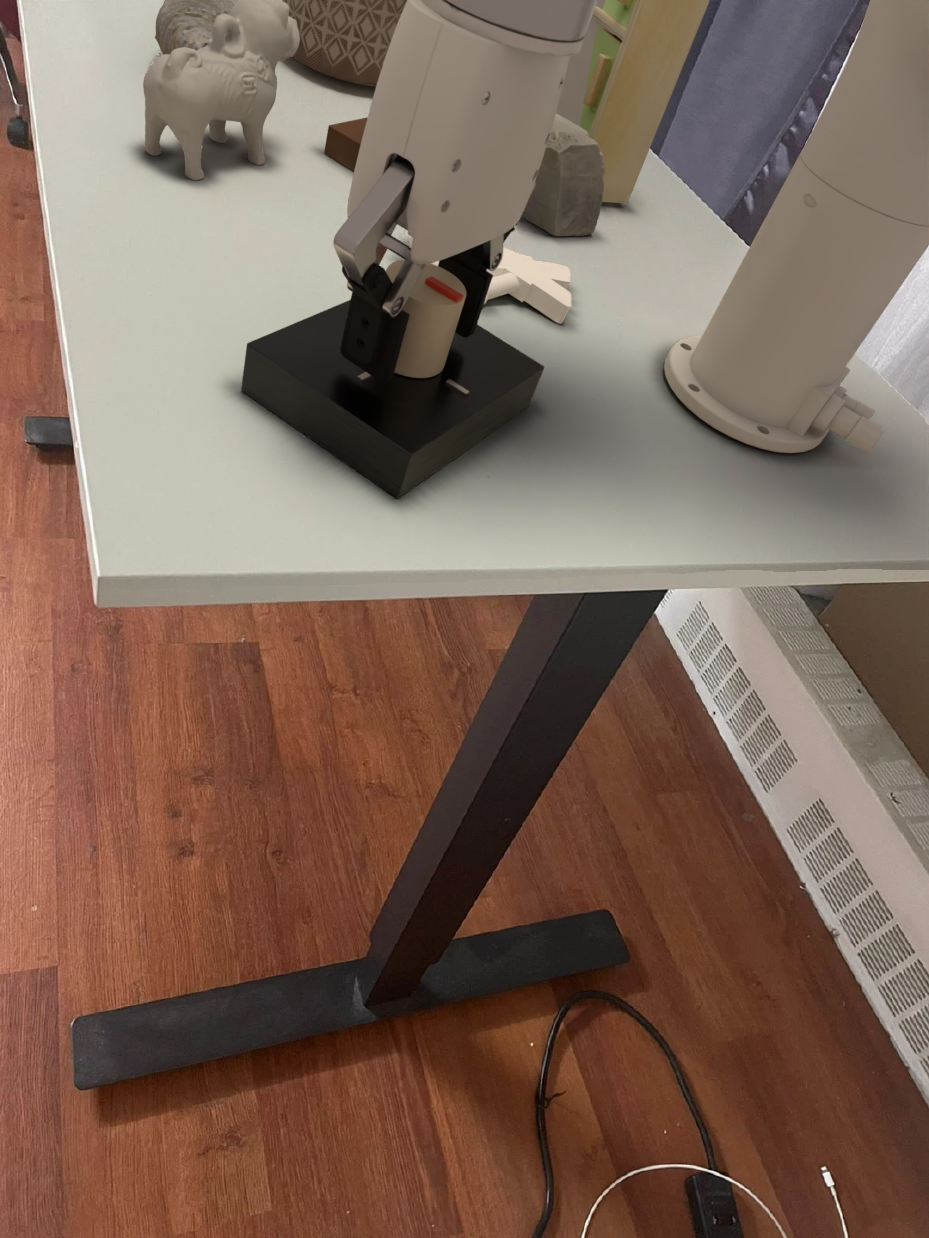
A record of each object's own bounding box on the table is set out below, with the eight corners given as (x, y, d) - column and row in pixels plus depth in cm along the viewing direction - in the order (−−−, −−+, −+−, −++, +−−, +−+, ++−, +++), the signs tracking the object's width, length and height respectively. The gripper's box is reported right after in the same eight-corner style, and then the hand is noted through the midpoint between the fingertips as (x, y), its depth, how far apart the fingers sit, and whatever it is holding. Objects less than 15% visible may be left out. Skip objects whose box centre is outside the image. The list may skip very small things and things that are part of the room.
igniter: (487, 189, 77) (501, 141, 75) (420, 212, 71) (433, 160, 68) (396, 136, 79) (407, 87, 77) (323, 153, 73) (332, 101, 70)
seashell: (254, 19, 80) (240, -76, 73) (236, 134, 76) (219, 45, 68) (182, 12, 80) (160, -85, 72) (159, 127, 75) (134, 37, 68)
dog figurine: (300, 155, 71) (324, 3, 64) (186, 187, 63) (198, 14, 55) (248, 125, 72) (266, -29, 65) (128, 152, 63) (132, -22, 56)
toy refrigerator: (522, 157, 84) (611, -120, 69) (584, 164, 88) (682, -98, 73) (563, 200, 80) (667, -84, 65) (627, 205, 83) (740, -63, 69)
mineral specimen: (515, 178, 79) (565, 91, 73) (588, 243, 79) (643, 161, 73) (475, 192, 74) (525, 100, 68) (553, 262, 74) (610, 176, 68)
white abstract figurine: (414, 222, 68) (424, 195, 66) (557, 285, 71) (569, 261, 69) (401, 276, 62) (411, 248, 60) (558, 343, 64) (572, 317, 63)
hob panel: (391, 319, 59) (403, 275, 56) (528, 407, 56) (546, 364, 54) (240, 390, 49) (247, 340, 47) (397, 499, 47) (411, 452, 45)
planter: (267, 29, 88) (282, -100, 81) (391, 58, 93) (415, -61, 86) (285, 81, 81) (303, -56, 73) (418, 109, 85) (448, -16, 78)
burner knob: (352, 347, 50) (370, 266, 46) (398, 324, 53) (418, 247, 49) (415, 388, 49) (438, 309, 45) (458, 362, 52) (483, 286, 48)
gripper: (537, -56, 44) (442, 274, 57) (305, -59, 33) (250, 359, 45) (665, 9, 43) (538, 334, 55) (470, 31, 31) (365, 438, 44)
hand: (409, 343), depth 50 cm, fingers open, 7 cm apart
